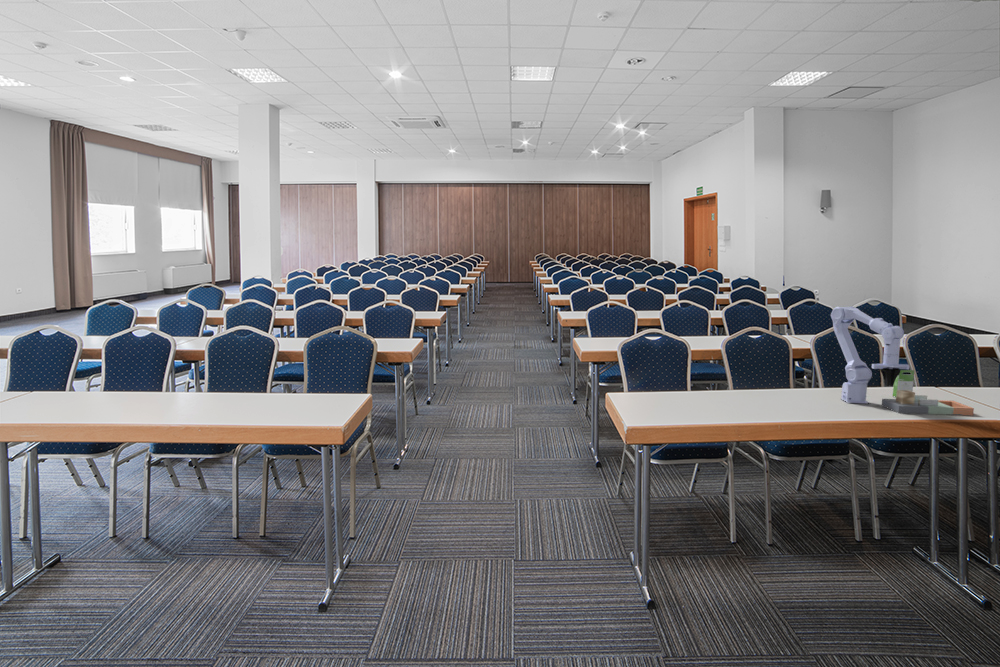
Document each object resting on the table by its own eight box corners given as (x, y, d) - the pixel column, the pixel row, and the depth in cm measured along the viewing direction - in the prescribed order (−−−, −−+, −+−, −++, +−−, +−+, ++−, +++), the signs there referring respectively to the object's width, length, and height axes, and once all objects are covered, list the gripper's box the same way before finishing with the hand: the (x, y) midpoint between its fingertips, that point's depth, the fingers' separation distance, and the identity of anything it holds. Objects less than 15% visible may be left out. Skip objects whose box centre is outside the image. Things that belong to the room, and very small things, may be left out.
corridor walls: (919, 405, 275) (920, 399, 275) (907, 400, 285) (907, 394, 284) (938, 406, 275) (938, 400, 275) (925, 401, 284) (925, 395, 284)
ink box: (907, 396, 306) (910, 368, 305) (912, 398, 302) (914, 370, 301) (892, 396, 307) (894, 368, 305) (896, 398, 303) (899, 369, 301)
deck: (898, 413, 274) (898, 406, 274) (881, 405, 288) (882, 398, 288) (973, 415, 272) (973, 408, 272) (952, 407, 286) (953, 400, 285)
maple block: (901, 403, 278) (903, 392, 277) (895, 401, 283) (896, 389, 282) (914, 404, 278) (915, 392, 277) (907, 401, 283) (908, 390, 282)
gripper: (878, 355, 275) (876, 386, 276) (914, 355, 274) (911, 387, 275) (870, 353, 282) (868, 383, 283) (905, 353, 281) (902, 384, 282)
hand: (889, 385), depth 280 cm, fingers closed
